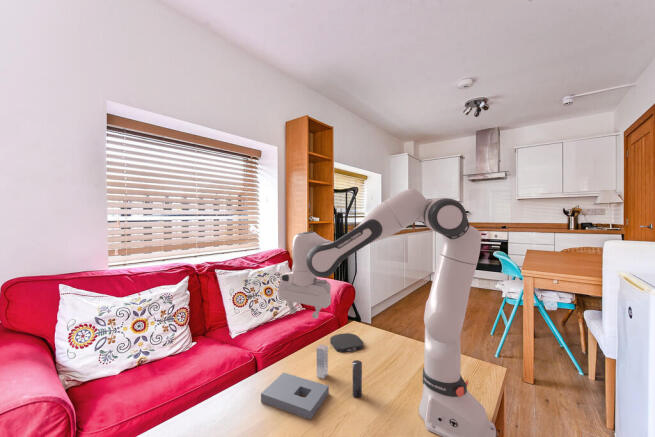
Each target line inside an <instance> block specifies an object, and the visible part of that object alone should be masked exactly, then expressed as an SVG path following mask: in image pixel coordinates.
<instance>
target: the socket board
mask: <svg viewBox="0 0 655 437" xmlns="http://www.w3.org/2000/svg"><path fill="white" fill-rule="evenodd" d="M329 386H330V385H327V384H324V383H320V382H316V381H314V380H310V379H307V378H303V377H301V376H297V375H294V374H290V373H286V372H282V373H281V374H280V375H279V376H278V377H277V378H276V379H275V380H274V381H273V382H271V383H270V384H269V386H267V387H266V388H265V389H264V390H263V391H262V392H260V402H261V403H263V404H266V405H269V406H271V407H273V408H276V407H277V409H279V410H281V411H285V412H286V413H287V412H288V413H290V414H293V415H295V416H299V417H302V418H303V419H307V420H310V421H311V420H312V418H313V417H314V416H315V414H316V413H317V411H318V410H319V409H320V407H321V406H322V404H323V403H324V401H326V399H327V397H328V396H329V394H330V387H329ZM300 395H301V396H300ZM303 396H305V397H303Z"/></svg>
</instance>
